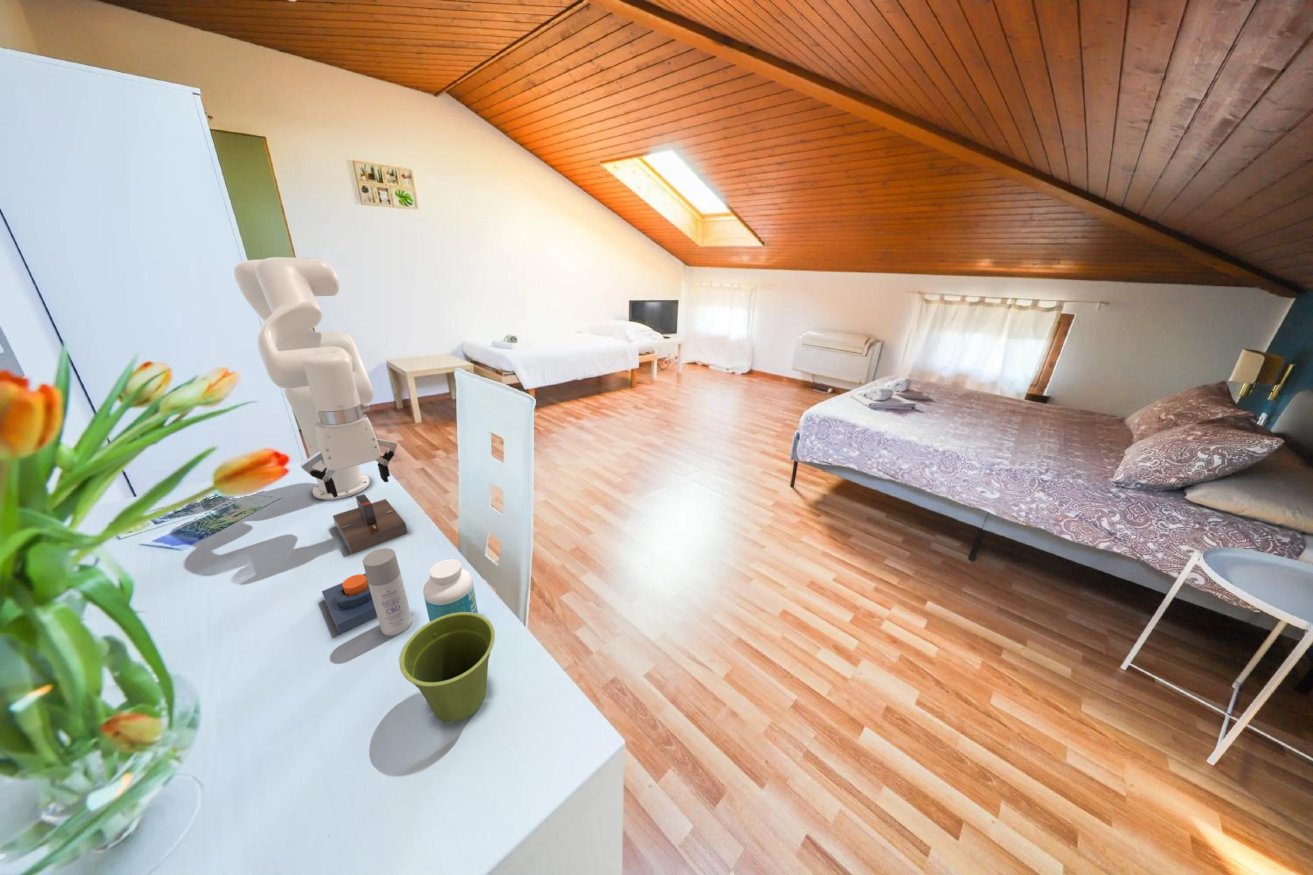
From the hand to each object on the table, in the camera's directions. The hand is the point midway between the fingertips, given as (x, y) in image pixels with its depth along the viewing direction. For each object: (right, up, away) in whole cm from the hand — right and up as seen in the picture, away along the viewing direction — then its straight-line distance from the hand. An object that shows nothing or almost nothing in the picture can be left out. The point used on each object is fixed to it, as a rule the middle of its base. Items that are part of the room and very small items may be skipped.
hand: (360, 487), depth 95 cm
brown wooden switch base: (-1, -11, +5) cm, 12 cm away
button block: (+11, -20, -16) cm, 27 cm away
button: (+11, -17, -17) cm, 26 cm away
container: (+20, -22, -20) cm, 36 cm away
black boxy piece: (-1, -8, +4) cm, 9 cm away
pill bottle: (+31, -23, -20) cm, 43 cm away
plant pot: (+37, -28, -32) cm, 56 cm away
